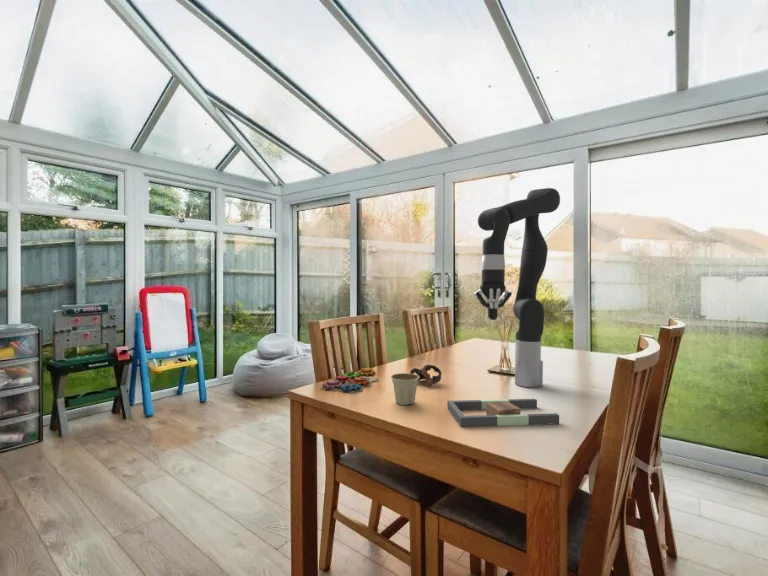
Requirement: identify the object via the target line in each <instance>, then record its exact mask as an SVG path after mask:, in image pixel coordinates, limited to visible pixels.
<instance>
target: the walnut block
mask: <svg viewBox="0 0 768 576" xmlns="http://www.w3.org/2000/svg"><path fill="white" fill-rule="evenodd" d="M485 411H486V412H485V415H513V414H521V408H518V407H517V406H515V405H513V404H511V403H510V402H508V401H504V402H491V403H486V409H485Z"/></svg>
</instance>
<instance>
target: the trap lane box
mask: <svg viewBox="0 0 768 576" xmlns="http://www.w3.org/2000/svg"><path fill="white" fill-rule="evenodd" d="M504 401H508V402H510V403H511V404H513V405H515V406H517V407H518V408H520V409H537V408H538V400H537V399H535V398H516V399H514V398H513V399H512V398H509V399H507V398H506V399H501V398H500V399H475V400H474V399H470V400H466V399H465V400H464V399H463V400H457V399H456V400H447V407H446V409H447V410H448V411H449V413H450V414H451V416H452V417H453V419H454V420H455V421H456V423H457V424H458V425H459V426H460V428H463V427H464V428H465V427H495V426H501V427H502V426H529V425H530V426H531V425H534V424H540V425H550V424H549V423H559V424H560V414H558V413H554V412H553V413H520V414H513V415H486V414H484V415H480V414H478V415H477V414H476V415H464V414H463V412H462V411H469V410H470V411H473V410H486V403H491V402H504ZM534 426H535V425H534Z"/></svg>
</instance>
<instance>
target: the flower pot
mask: <svg viewBox="0 0 768 576" xmlns="http://www.w3.org/2000/svg"><path fill="white" fill-rule="evenodd" d="M419 378H420V377H419V376H418V375H417V374H416V373H414V374H410V372H407V373H405V372H404V373H402V372H401V373H395V374H392V375H390V379H391V380H392V383H393V392H394V397H395V399H394V400H395V403H396V404H398V405H401V406H409V405H414V404H415V402H416V401H415V400H416V394H417V392H416V391H417V387H418V383H419V381H418V379H419Z"/></svg>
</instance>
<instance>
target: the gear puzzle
mask: <svg viewBox="0 0 768 576" xmlns="http://www.w3.org/2000/svg"><path fill="white" fill-rule="evenodd" d="M376 373H377V372H376V371H375V370H374V369H372V368H370V367H362V368H360V370H357V371H356V372H355V371H353V370H350V371H348V372H347V373H343V374H341V375H338V376H336V377H335V378H332V379H329V380H327V381H326V382H323V383H322V385H321V387H320V388H319V390H322V391H327V390H330V392H338V393H339V392H340V393H344V392H346V391H348V392H347V393H348V394H353V393H355V394H357V393H362V392H364V389H365V388H367V387H368V388H370V387H371V386H372V385H373V383H378V382H379V378H378V377H374V376H373V375H376Z"/></svg>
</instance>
